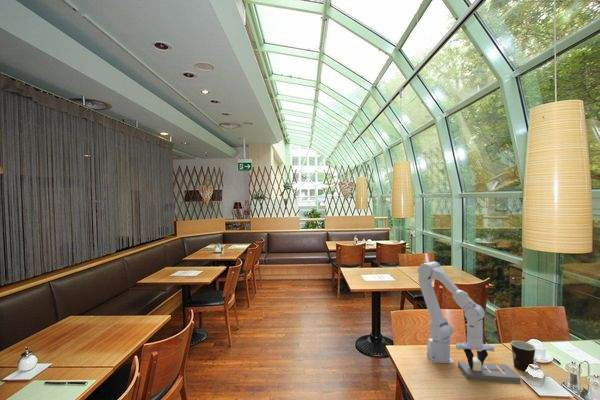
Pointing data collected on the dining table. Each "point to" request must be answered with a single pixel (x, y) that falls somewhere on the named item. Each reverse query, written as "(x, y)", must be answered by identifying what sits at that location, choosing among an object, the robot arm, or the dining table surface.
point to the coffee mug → (522, 354)
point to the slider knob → (476, 364)
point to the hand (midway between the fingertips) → (475, 367)
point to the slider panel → (490, 372)
